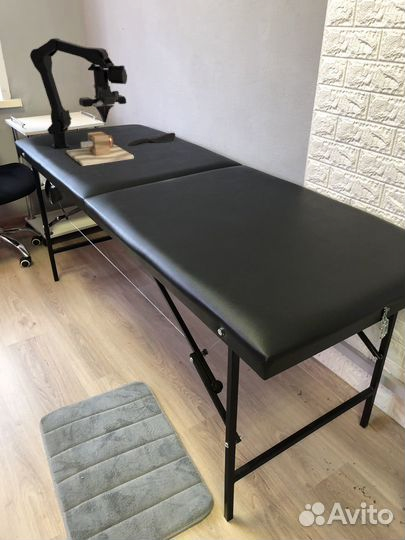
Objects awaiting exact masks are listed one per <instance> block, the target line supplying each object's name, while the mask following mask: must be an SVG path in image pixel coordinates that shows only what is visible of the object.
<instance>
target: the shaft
mask: <svg viewBox="0 0 405 540" xmlns="http://www.w3.org/2000/svg"><path fill="white" fill-rule="evenodd" d="M107 135H108V134H107ZM108 136H109V147H110V148H112V147H113V145H115V144H114V138H113V136H112V135H111V134H110V135H108ZM79 145H80V149H84V148H89V147H93V141H88V140H86V141H80V142H79Z"/></svg>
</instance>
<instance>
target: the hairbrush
mask: <svg viewBox="0 0 405 540" xmlns="http://www.w3.org/2000/svg"><path fill="white" fill-rule="evenodd" d="M175 139H176V133H175V132H173V131H172V130H171V131H169V132H168V133H165V134H163V135H162V134H160V135H158V134H157V135H155V137H154V136H149V138H147V137H145V138H139V139H135V140H133V141H131V142H129V143H128V146H131V147H134V146H137V145H138V144H141V143H143V142H151V143H154V144H165V143H166V144H167V143H170V142H173V141H174V140H175Z"/></svg>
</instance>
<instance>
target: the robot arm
mask: <svg viewBox="0 0 405 540" xmlns="http://www.w3.org/2000/svg"><path fill="white" fill-rule="evenodd" d="M58 51H59V52H62V53H65V54H66V53H67V54H69V55H73V56H76V57H80V58H82V59H84V60H86V61H87V62H89V63H90V66H89V67H88V68H87V71H92V72H93V73H92V74H93V81H94V82H93V83H94V84H93V88H94V93H95V94H94V98H91V97H88V96H85V97H80V98H79V99H78V104H79V106H82V107H84V108H88V107H95V109H96V110H97V112H98V113H99V115H100V118H101V120H102V122H103V123H107V120H108V116H109V112H110V110H111V109H112V108H113V107H114V105H115V103H118V105H126V104H127V98H126V97H125V96H123V95H122V94H120V92H119V91H118V90H111V86H110V85H109V82H110V83H111V84H116V85H117V84H118V85H119V84H120V85H126V84H127V81H128V74H127V70H126V68H125V65H124V64H123V65H115V64H114V62H113V61H112V60H111V58H110V57H109V53H108V51H107V50H106V49H105V48H103V47H91V46H89V47H87V46H83V45H80V44H77V43H73V42H70V41H66V40H61V39H60V38H57V37H56V38H55V37H54V38H50V39H49V40H48V41H47V42H45V43H43V45H41V46H39V47H38V48H34V49H32V50H31V51H30V53H29V58H30V60H31V62H32V65H33V66H34V68H35V69H36V71H38V73H39V74H40V78H41V81H42V84H43V88H44V90H45V94H46V96H47V99H48V103H49V106H50V120H51V124H50V125H49V126H48V128H47V132H48V134H49V135H51V136H52V144H50V145H51V147H52V148H54V149H66V148H70V147H71V146H70V145H69V144H68V142H67V135H66V132H67V131H69V127H70V126H71V124H72V121H71V120H72V117H71V114H70V111H69V109H68V110H67V109H65V108H64V106H63V105H62V104H63V103H62V101H61V98H60V95H59V91H58V88H57V85H56V81H55V78H54V75H53V70H52V69H53V60H52V58H53V56H55V55H56V53H57V52H58Z"/></svg>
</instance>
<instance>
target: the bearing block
mask: <svg viewBox="0 0 405 540" xmlns="http://www.w3.org/2000/svg"><path fill="white" fill-rule="evenodd" d="M87 141H93V147H86V148H76V149H71V150H70V149H69V150H68V149H67V150H66V155H68V156H69V157H71V158H72V159H73V160H74V161H76V162H77V163H78V164H80V165H81V166H82V167H83V166H91V165H92V166H93V165H99V164H105V163H106V164H107V163H113V162H118V161H127V160H134V158H135V156H134V155H133V154H132V153H130V152H128V151H126V150H124V149H123V148H121V147H120V146H118V145H116V144H114V145H113V147H112V148H110V147H109V136H108V134H106V133H105V132H103V131H94V132H87Z"/></svg>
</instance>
